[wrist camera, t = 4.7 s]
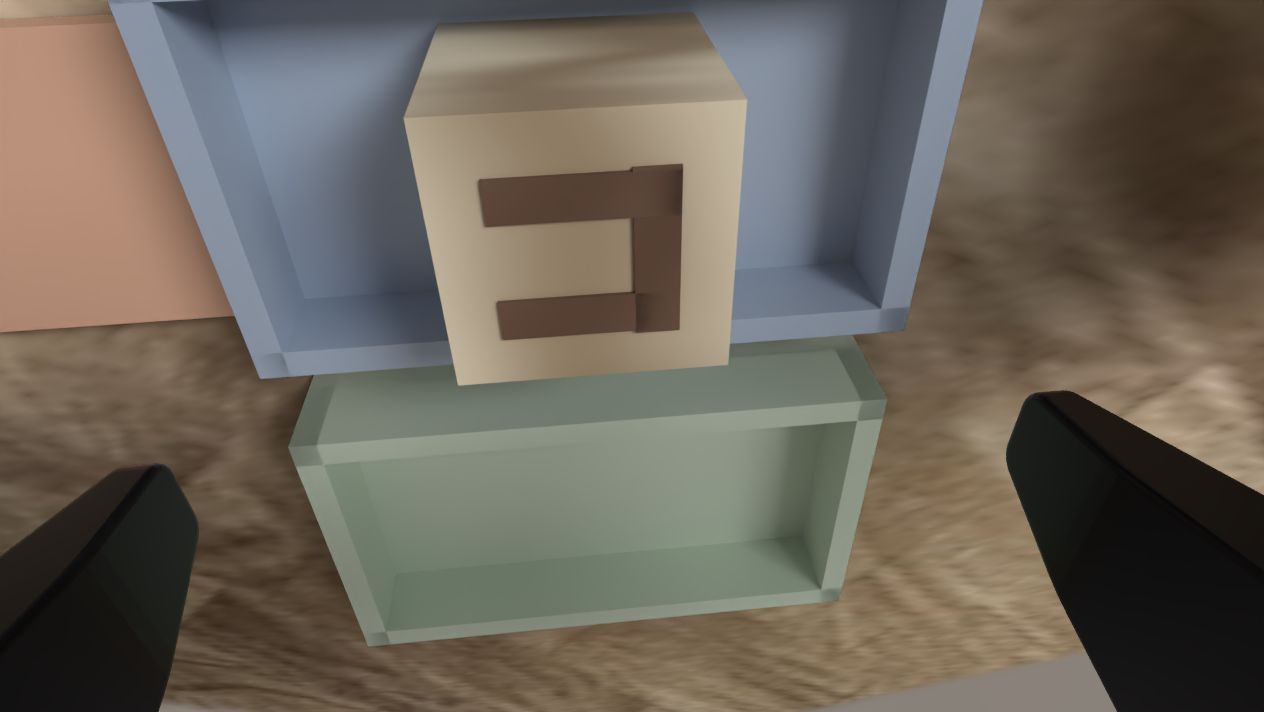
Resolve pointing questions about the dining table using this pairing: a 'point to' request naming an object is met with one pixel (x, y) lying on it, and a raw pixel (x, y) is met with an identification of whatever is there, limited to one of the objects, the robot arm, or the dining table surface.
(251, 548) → the dining table surface
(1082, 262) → the dining table surface
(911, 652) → the dining table surface
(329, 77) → the slate tray
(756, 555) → the green tray
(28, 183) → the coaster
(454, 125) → the letter cube
